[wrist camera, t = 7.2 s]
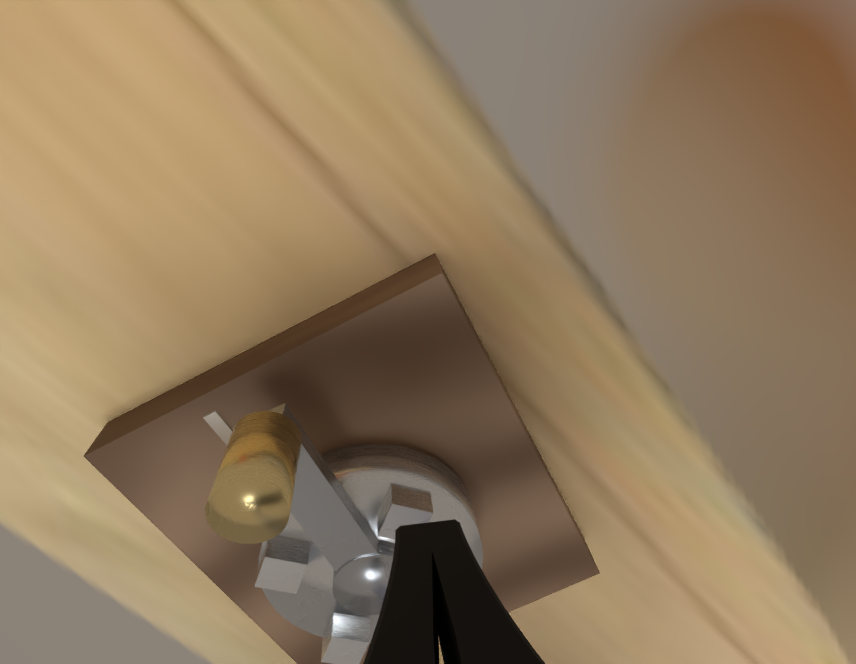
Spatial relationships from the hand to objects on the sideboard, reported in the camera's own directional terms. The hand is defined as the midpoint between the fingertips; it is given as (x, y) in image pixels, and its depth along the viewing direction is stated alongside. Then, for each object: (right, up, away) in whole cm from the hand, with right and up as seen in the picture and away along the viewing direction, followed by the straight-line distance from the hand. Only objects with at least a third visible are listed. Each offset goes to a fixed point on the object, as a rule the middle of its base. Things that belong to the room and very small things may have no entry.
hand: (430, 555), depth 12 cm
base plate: (-2, -2, +11) cm, 12 cm away
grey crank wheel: (-3, -1, +9) cm, 9 cm away
